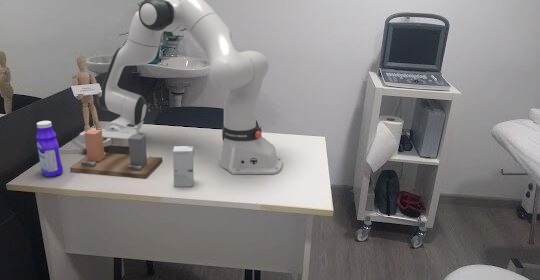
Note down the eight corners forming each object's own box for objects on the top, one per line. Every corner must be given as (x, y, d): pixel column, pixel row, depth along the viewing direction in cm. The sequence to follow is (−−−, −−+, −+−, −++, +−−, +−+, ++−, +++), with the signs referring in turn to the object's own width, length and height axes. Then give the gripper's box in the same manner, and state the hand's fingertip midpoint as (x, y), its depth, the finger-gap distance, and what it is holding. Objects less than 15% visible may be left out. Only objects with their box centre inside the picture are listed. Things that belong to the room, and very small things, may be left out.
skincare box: (173, 187, 126) (171, 151, 122) (174, 180, 130) (173, 145, 126) (193, 186, 127) (192, 151, 123) (194, 180, 131) (193, 145, 127)
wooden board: (162, 161, 144) (162, 154, 143) (146, 178, 131) (145, 171, 130) (93, 155, 147) (92, 148, 146) (70, 171, 134) (69, 164, 133)
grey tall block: (147, 162, 138) (145, 135, 135) (142, 167, 134) (139, 139, 131) (136, 161, 139) (133, 134, 135) (130, 166, 135) (128, 138, 131)
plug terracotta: (104, 157, 141) (101, 130, 138) (99, 161, 138) (95, 134, 134) (94, 156, 142) (90, 129, 138) (87, 160, 138) (84, 133, 134)
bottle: (39, 172, 133) (29, 121, 126) (57, 167, 137) (49, 117, 130) (47, 179, 128) (38, 127, 122) (66, 174, 132) (58, 123, 126)
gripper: (90, 122, 153) (68, 134, 140) (142, 126, 151) (125, 139, 138) (92, 138, 155) (71, 151, 142) (143, 142, 153) (127, 156, 140)
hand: (98, 145), depth 140 cm, fingers closed, pressing on plug terracotta
